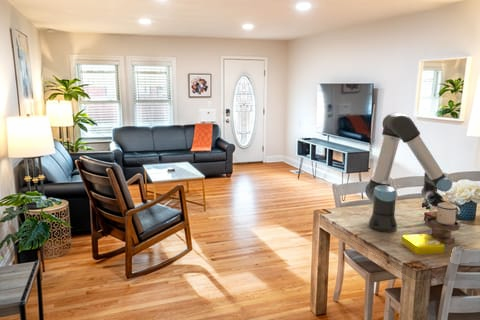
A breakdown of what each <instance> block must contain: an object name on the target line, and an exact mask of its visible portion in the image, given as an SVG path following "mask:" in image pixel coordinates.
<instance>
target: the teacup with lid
mask: <svg viewBox="0 0 480 320" xmlns="http://www.w3.org/2000/svg"><path fill="white" fill-rule="evenodd" d="M437 206H438V207H433V208H434V209H433V210H435V209H436V210H437V211H436V214H435V213H434V212H433V213H432V212H431V211H430V214H431V216H436V217H437V218H436V221H437V222H439V223H442V224H447V225H452V224H454V223H455V220H456V217H457V213H456V209H457V206H456V205H454V204H452V203H450V201H449V200H448V199H446V200H445V202H443V203H439V204H438V205H437Z"/></svg>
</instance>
